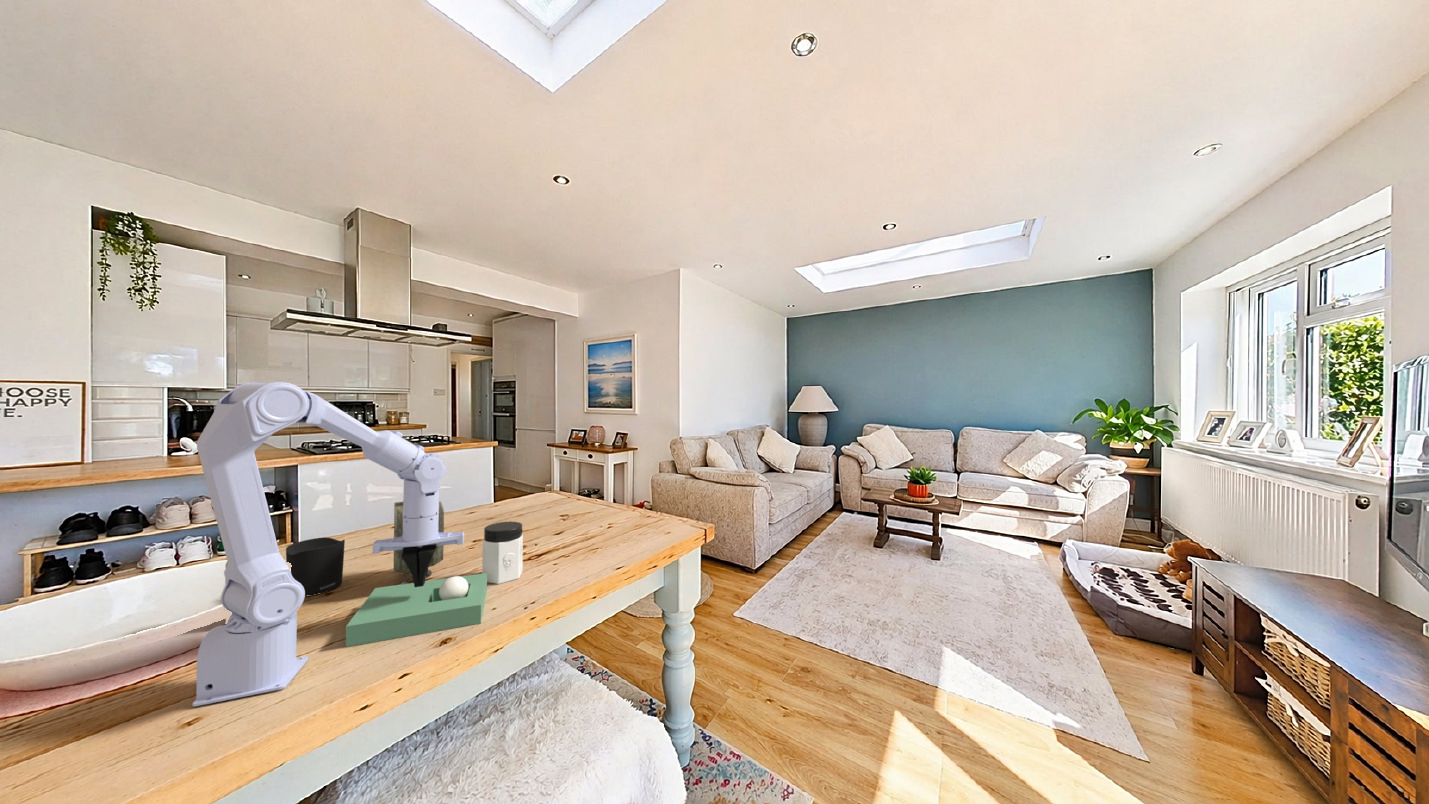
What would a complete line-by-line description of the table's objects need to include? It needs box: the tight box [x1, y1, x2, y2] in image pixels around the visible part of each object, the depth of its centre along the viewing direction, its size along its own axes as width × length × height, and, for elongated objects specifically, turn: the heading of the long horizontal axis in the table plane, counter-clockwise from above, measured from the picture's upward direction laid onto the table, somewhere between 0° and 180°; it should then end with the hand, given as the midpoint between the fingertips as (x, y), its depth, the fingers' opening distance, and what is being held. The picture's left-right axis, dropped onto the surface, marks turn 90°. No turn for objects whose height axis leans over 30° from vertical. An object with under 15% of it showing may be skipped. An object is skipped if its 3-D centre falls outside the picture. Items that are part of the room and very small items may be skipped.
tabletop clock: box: [393, 500, 445, 585], centre depth 100 cm, size 14×9×25 cm, turn 37°
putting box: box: [345, 573, 488, 648], centre depth 83 cm, size 20×16×4 cm
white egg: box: [439, 575, 468, 600], centre depth 85 cm, size 5×5×5 cm
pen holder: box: [285, 536, 346, 596], centre depth 94 cm, size 9×9×10 cm
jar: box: [481, 521, 524, 585], centre depth 102 cm, size 9×8×12 cm
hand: (419, 584), depth 83 cm, fingers closed
